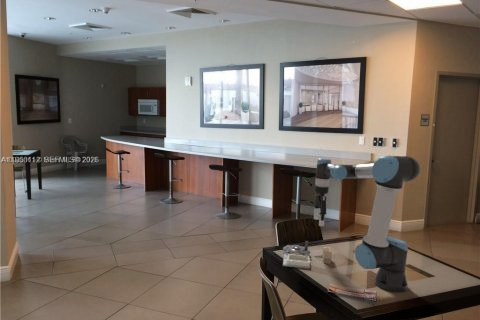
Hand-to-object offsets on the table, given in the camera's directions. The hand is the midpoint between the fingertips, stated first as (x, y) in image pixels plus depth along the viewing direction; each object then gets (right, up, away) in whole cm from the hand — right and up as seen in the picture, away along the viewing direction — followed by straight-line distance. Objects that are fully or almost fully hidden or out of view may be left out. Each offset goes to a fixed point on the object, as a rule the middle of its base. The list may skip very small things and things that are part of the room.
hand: (318, 222), depth 218 cm
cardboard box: (+4, -21, -3) cm, 22 cm away
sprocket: (-12, -18, +6) cm, 22 cm away
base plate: (-13, -20, 0) cm, 24 cm away
